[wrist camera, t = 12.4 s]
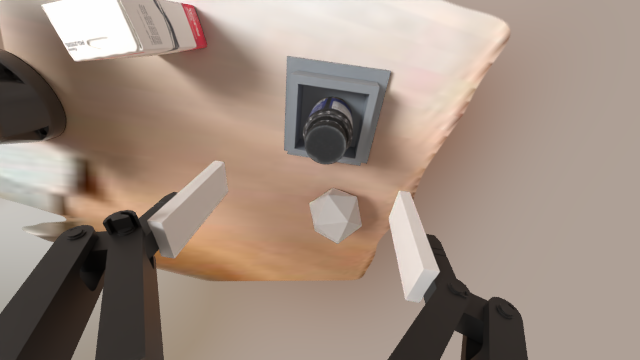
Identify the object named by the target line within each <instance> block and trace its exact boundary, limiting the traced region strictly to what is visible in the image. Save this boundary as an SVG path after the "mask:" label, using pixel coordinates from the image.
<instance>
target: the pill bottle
mask: <svg viewBox="0 0 640 360" xmlns="http://www.w3.org/2000/svg"><path fill="white" fill-rule="evenodd" d="M303 138H304V142H305V150H306V152H307V154H308V156H309V157H310V158H311V159H312V160H314V161H316V162H318V163H321V164H332V163H335V162H337V161H338V160H340V159H341V158H342V157H343V155H344V154H345V152H346V150H347V149H348V148H349V146H350V145H351V142H352V138H353V122H352V111H351V109H350V106H349V105H348V104H347V103H346V102H345V101H344V100H343V99H341V98H338V97H325V98H323V99H321V100H319V101H318V102H317V103H316V105H315V106H314V108H313V110H312V111H311V113H310V115H309V117H308V119H307V121H306V123H305V125H304V129H303Z"/></svg>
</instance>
